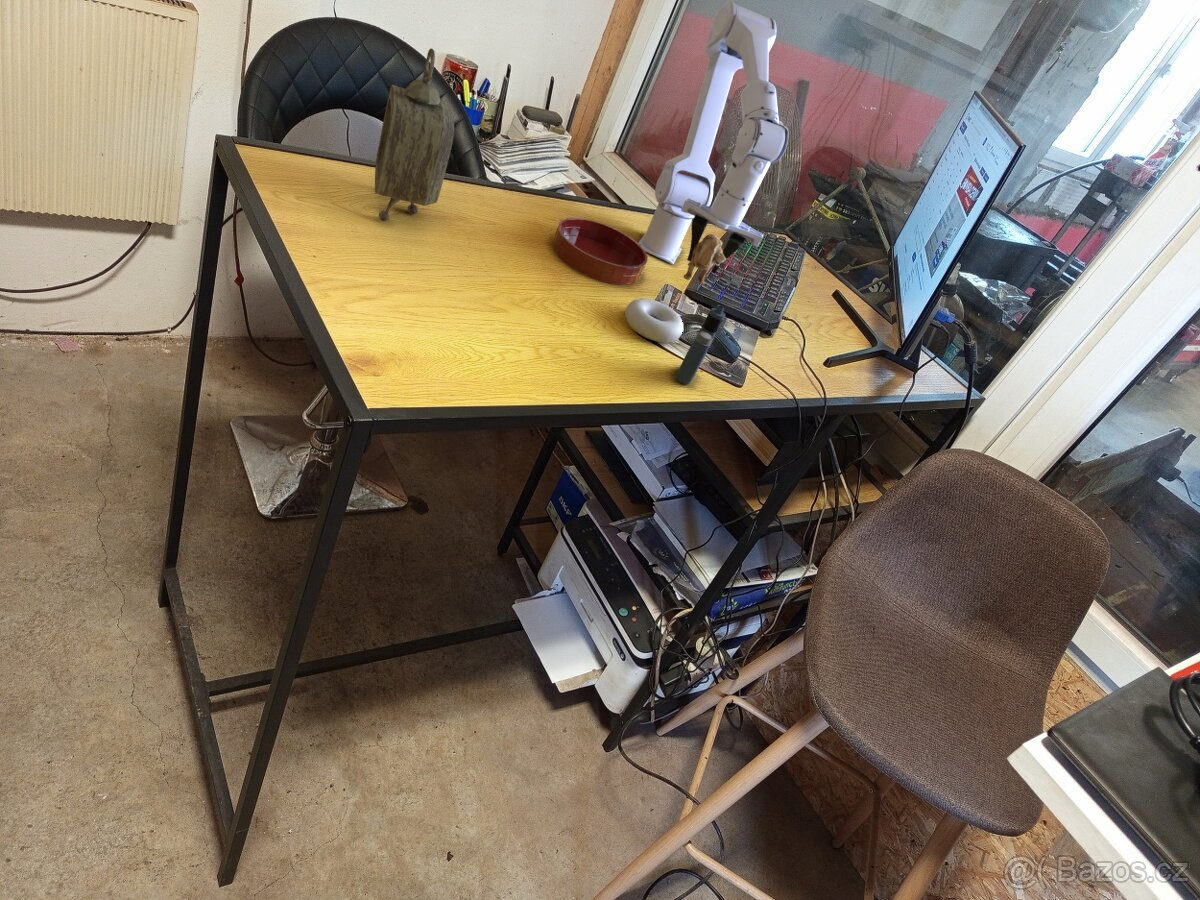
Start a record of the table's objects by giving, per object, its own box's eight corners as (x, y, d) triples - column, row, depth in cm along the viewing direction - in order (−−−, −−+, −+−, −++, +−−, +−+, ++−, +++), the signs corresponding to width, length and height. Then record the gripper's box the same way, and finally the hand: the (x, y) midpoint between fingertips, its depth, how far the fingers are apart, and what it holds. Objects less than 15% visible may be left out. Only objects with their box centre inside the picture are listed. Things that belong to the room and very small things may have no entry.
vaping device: (695, 373, 120) (730, 308, 113) (688, 387, 115) (724, 320, 108) (680, 366, 120) (714, 300, 113) (672, 379, 115) (707, 312, 109)
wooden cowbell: (370, 185, 129) (401, 27, 115) (425, 199, 132) (461, 47, 118) (371, 223, 118) (405, 55, 104) (429, 238, 122) (470, 77, 108)
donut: (616, 329, 122) (675, 354, 122) (624, 311, 120) (683, 336, 120) (627, 305, 130) (682, 328, 130) (634, 287, 128) (690, 311, 128)
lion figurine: (710, 296, 132) (732, 248, 126) (681, 285, 131) (702, 237, 126) (710, 263, 143) (730, 219, 138) (684, 254, 143) (703, 208, 138)
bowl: (567, 225, 147) (574, 208, 145) (648, 264, 146) (655, 248, 144) (539, 252, 133) (545, 234, 131) (628, 295, 132) (636, 278, 130)
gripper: (693, 179, 126) (660, 253, 133) (774, 218, 125) (736, 290, 133) (700, 170, 131) (667, 242, 139) (776, 207, 131) (740, 277, 139)
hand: (701, 265), depth 137 cm, fingers closed on lion figurine, 4 cm apart
